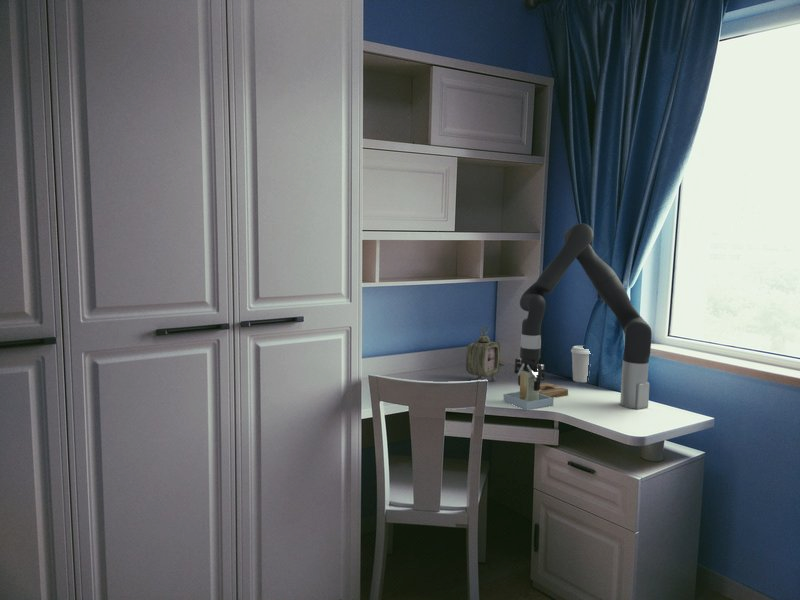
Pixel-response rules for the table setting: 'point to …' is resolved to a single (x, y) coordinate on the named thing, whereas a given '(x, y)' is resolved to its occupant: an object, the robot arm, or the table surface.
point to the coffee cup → (580, 363)
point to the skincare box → (527, 387)
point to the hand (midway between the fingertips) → (528, 388)
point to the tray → (541, 403)
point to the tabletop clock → (483, 357)
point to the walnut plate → (552, 390)
